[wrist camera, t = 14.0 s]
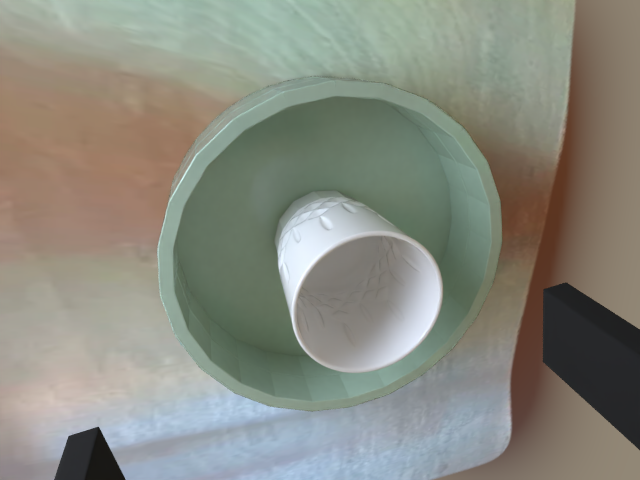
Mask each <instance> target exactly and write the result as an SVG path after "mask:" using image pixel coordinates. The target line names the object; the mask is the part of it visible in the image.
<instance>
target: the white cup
mask: <svg viewBox="0 0 640 480" xmlns="http://www.w3.org/2000/svg"><path fill="white" fill-rule="evenodd" d="M274 243H275V247H276V251H277V255H278V267H279V272H280V279H281V282H282V285H283V289H284V293H285V298H286V301H287V305H288V309H289V313H290V317H291V321H292V325H293V329H294V333H295V335H296V338H297V340H298V342H299V344H300V345H301V347H302V348H303V349H304V351H305V352H306V353H307V354H308V355H309V356H310V357H311V358H312V359H314V360H315V361H316V362H318V363H319V364H321V365H323V366H325V367H327V368H330V369H332V370H336V371H340V372H346V373H364V372H371V371H375V370H379V369H382V368H385V367H388V366H390V365H392V364H394V363H396V362H398V361H400V360H401V359H403V358H405V357H406V356H407V355H409V354H410V353H411V352H413V351H414V350H415V349H416V348H417V347H418V346H419V345H420V344H421V343H422V342H423V341H424V339H425V338H426V337H427V336H428V334H429V333H430V331H431V330H432V328H433V326H434V324H435V323H436V320H437V318H438V316H439V313H440V310H441V306H442V301H443V281H442V276H441V272H440V269H439V267H438V264H437V262H436V261H435V259H434V257H433V256H432V255H431V253H430V252H429V251H428V250H427V249H426V248H425V247H424V246H423V245H422V244H420V243H419V242H417V241H416V240H415V239H413V238H412V237H410V236H409V235H408V234H406V233H405V232H404V231H402V230H401V229H399V228H398V227H397V226H395V225H394V224H393V223H391V222H390V221H388V220H387V219H386V218H384V217H383V216H381V215H380V214H378V213H377V212H375V211H374V210H372V209H371V208H369V207H368V206H366V205H364V204H363V203H361V202H359V201H357V200H356V199H354V198H352V197H350V196H348V195H346V194H343V193H341V192H339V191H337V190H327V191H313V192H311V193H309V194H307V195H305V196H303V197H301V198H299V199H297V200H295V201H293V202H292V204H291V205H290V206H289V207H288V209H287V210H286V211H285V212H284V214H283V215H282V216H281V217H280V219H279V221H278V226H277V230H276V234H275V239H274Z"/></svg>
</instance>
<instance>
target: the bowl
mask: <svg viewBox="0 0 640 480" xmlns="http://www.w3.org/2000/svg"><path fill="white" fill-rule="evenodd" d="M327 190H337V191H339V192H341V193H343V194H346V195H348V196H350V197H352V198H354V199H356V200H357V201H359V202H361V203H363V204H364V205H366V206H368V207H369V208H371V209H372V210H374V211H375V212H377V213H378V214H380V215H381V216H383V217H384V218H386V219H387V220H388V221H390V222H391V223H393V224H394V225H395V226H397V227H398V228H399V229H401V230H402V231H404V232H405V233H406V234H408V235H409V236H410V237H412V238H413V239H415V240H416V241H417V242H419V243H420V244H422V245H423V246H424V247H425V248H426V249H427V250H428V251H429V252H430V253H431V255H432V256H433V257H434V259H435V261H436V262H437V264H438V267H439V269H440V272H441V276H442V281H443V301H442V306H441V310H440V313H439V316H438V318H437V320H436V323H435V324H434V326H433V328H432V330H431V331H430V333H429V334H428V336H427V337H426V338H425V339H424V341H423V342H422V343H421V344H420V345H419V346H418V347H417V348H416V349H415V350H414V351H413V352H411V353H410V354H409V355H407V356H406V357H405V358H403V359H401V360H400V361H398V362H396V363H394V364H392V365H390V366H388V367H385V368H382V369H379V370H375V371H371V372H364V373H346V372H340V371H336V370H332V369H330V368H327V367H325V366H323V365H321V364H319V363H318V362H316V361H315V360H314V359H312V358H311V357H310V356H309V355H308V354H307V353H306V352H305V351H304V349H303V348H302V347H301V345H300V344H299V342H298V340H297V338H296V335H295V333H294V329H293V325H292V321H291V317H290V313H289V309H288V305H287V301H286V298H285V293H284V289H283V285H282V282H281V279H280V272H279V267H278V255H277V251H276V247H275V243H274V239H275V234H276V230H277V226H278V221H279V219H280V217H281V216H282V215H283V214H284V212H285V211H286V210H287V209H288V207H289V206H290V205H291V204H292V202H293V201H295V200H297V199H299V198H301V197H303V196H305V195H307V194H309V193H311V192H313V191H327ZM501 245H502V220H501V201H500V198H499V195H498V191H497V188H496V185H495V182H494V179H493V176H492V173H491V170H490V167H489V164H488V162H487V160H486V158H485V157H484V155H483V154H482V153H481V151H480V150H479V148H478V147H477V145H476V144H475V142H474V141H473V140H472V138H471V137H470V135H469V134H468V132H467V131H466V129H465V128H463V126H462V125H461V124H459V123H458V122H457V121H455V120H454V119H453V118H452V117H450V116H449V115H448V114H447V113H445V112H444V111H443V110H441V109H440V108H439V107H438V106H436V105H435V104H434V103H432V102H431V101H429V100H428V99H426V98H423V97H421V96H418V95H415V94H413V93H410V92H407V91H405V90H402V89H399V88H397V87H394V86H391V85H389V84H386V83H380V82H373V81H367V80H360V79H351V78H336V77H320V76H313V77H312V76H311V77H306V78H300V79H293V80H288V81H284V82H281V83H278V84H274V85H270V86H267V87H265V88H263V89H261V90H259V91H257V92H254V93H252V94H250V95H248V96H246V97H245V98H243V99H241V100H240V101H238V102H237V103H235V104H233V105H232V106H230V107H229V108H228V109H226V110H225V111H224V112H223V113H222V114H220V115H219V116H218V117H217V118H216V119H215V120H213V121H212V122H211V123H210V124H209V126H208V127H207V128H206V129H205V130H204V131H203V132H202V133H201V134H200V136H199V137H198V138H197V139H196V140H195V142H194V144H193V145H192V147H191V148H190V150H189V151H188V153H187V154H186V155H185V157H184V159H183V161H182V163H181V166H180V168H179V169H178V171H177V173H176V175H175V177H174V179H173V183H172V187H171V191H170V195H169V199H168V203H167V207H166V211H165V215H164V220H163V224H162V229H161V234H160V238H159V243H158V247H157V248H158V249H157V254H158V272H159V290H160V297H161V300H162V302H163V305H164V308H165V310H166V313H167V316H168V318H169V321H170V324H171V326H172V329H173V332H174V334H175V336H176V338H177V339H178V340H179V342H180V343H181V344H182V346H183V347H184V348H185V349H186V351H187V352H188V353H189V355H190V356H191V357H192V358H193V360H194V361H195V362H196V364H197V365H198V366H199V368H200V369H202V370H203V371H204V372H206V373H207V374H209V375H210V376H211V377H213V378H214V379H216V380H217V381H218V382H220V383H221V384H222V385H224V386H225V387H227V388H228V389H229V390H231V391H232V392H234V393H235V394H238V395H241V396H243V397H246V398H249V399H251V400H254V401H257V402H259V403H262V404H265V405H267V406H270V407H271V406H272V407H278V408H287V409H295V410H304V411H320V410H329V409H339V408H348V407H352V406H355V405H358V404H361V403H364V402H367V401H370V400H373V399H376V398H380V397H383V396H386V395H388V394H390V393H392V392H394V391H396V390H397V389H399V388H401V387H403V386H404V385H406V384H408V383H410V382H411V381H413V380H415V379H417V378H418V377H420V376H422V374H424V373H425V372H427V371H428V370H429V369H430V368H431V367H432V366H433V365H435V364H436V363H437V362H438V361H439V360H440V359H441V358H443V357H444V356H445V355H446V354H447V353H448V352H449V351H451V350H452V348H454V347H455V345H456V344H457V343H458V341H459V340H460V339H461V337H462V336H463V335H464V333H465V332H466V331H467V329H468V328H469V327H470V326H471V324H472V323H473V322H474V320H475V319H476V318H477V316H478V314H479V312H480V310H481V308H482V305H483V303H484V301H485V299H486V297H487V295H488V293H489V290H490V288H491V286H492V284H493V282H494V279H495V274H496V269H497V264H498V260H499V255H500V250H501Z"/></svg>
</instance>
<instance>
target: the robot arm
mask: <svg viewBox="0 0 640 480" xmlns="http://www.w3.org/2000/svg"><path fill="white" fill-rule="evenodd" d="M543 294H544V296H543V297H544V298H543V362H544V363H545V364H546V365H547V366H548V367H549V368H550V369H551V370H553V371H554V372H555V373H556V374H557V375H558V376H559V377H560V378H562V380H564V381H565V382H566V383H567V384H568V385H569V386H570V387H571V388H572V389H573V390H574V391H576V392H577V393H578V394H579V395H580V396H581V397H582V398H583V399H585V401H587V402H588V403H589V404H590V405H591V406H592V407H593V408H594V409H595V410H597V411H598V412H599V413H600V414H601V415H602V416H603V417H604V418H605V419H606V420H608V422H610V423H611V424H612V425H613V426H614V427H615V428H616V429H617V430H618V431H619V432H621V433H622V434H623V435H624V436H625V437H626V438H627V439H628V440H629V441H631V443H633V444H634V445H635V446H636V447H637V448H638V449H639V450H640V329H638V328H636V327H635V326H633V325H632V324H630V323H629V322H627V321H626V320H624V319H622V318H621V317H619V316H618V315H616V314H615V313H613V312H611V311H610V310H608V309H607V308H605V307H604V306H602V305H600V304H599V303H597V302H596V301H594V300H593V299H591V298H590V297H588V296H586V295H585V294H583V293H582V292H580V291H579V290H577V289H576V288H574V287H572V286H571V285H569V284H568V283H562V284H559V285H556V286H553V287H550V288H547V289H544V292H543ZM54 480H125V478H124V476H123V474H122V472H121V470H120V468H119V466H118V464H117V462H116V460H115V458H114V456H113V454H112V452H111V450H110V448H109V446H108V444H107V442H106V440H105V438H104V436H103V434H102V432H101V430H100V428H99V427H96V428H93V429H90V430H87V431H83V432H80V433H77V434H74V435H70V436H69V437H68V440H67V443H66V446H65V449H64V452H63V455H62V458H61V461H60V464H59V467H58V470H57V473H56V476H55V479H54Z"/></svg>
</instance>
